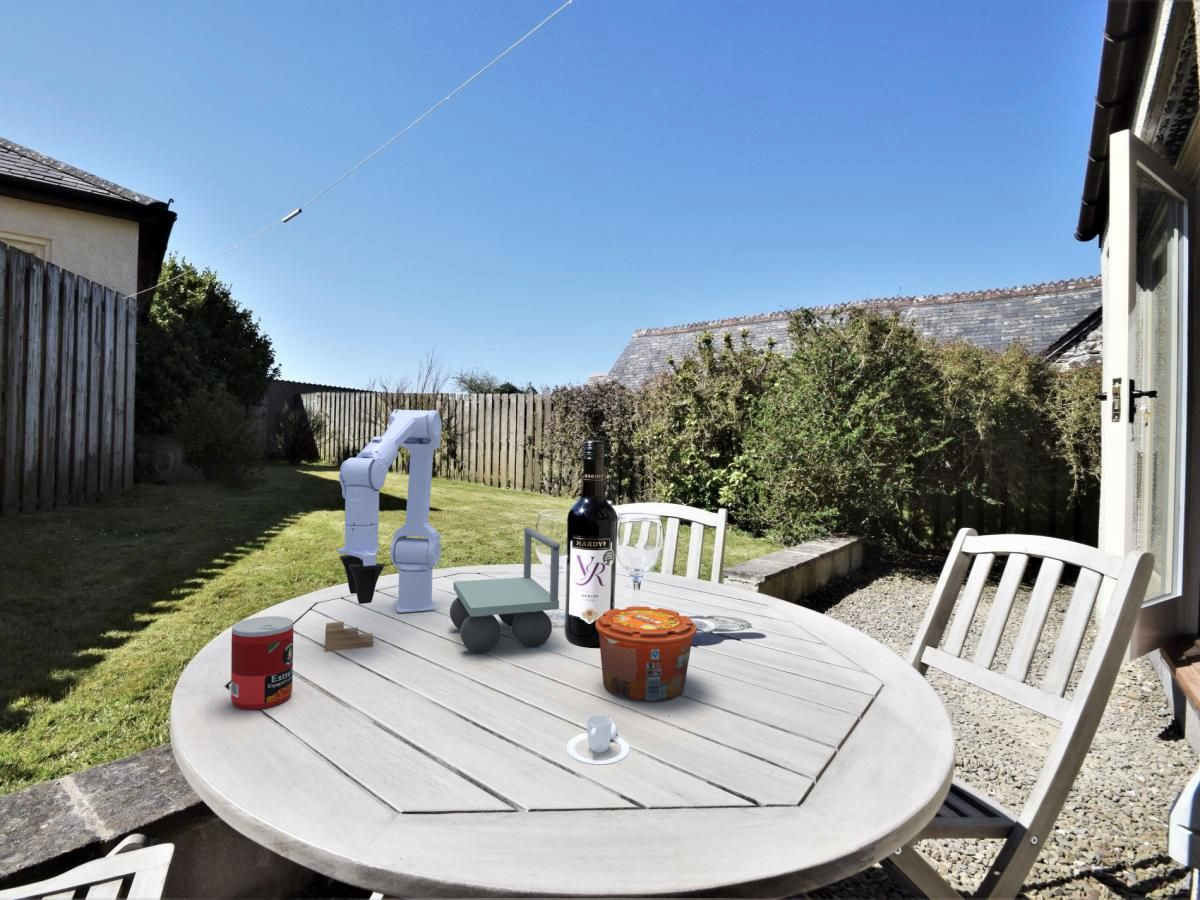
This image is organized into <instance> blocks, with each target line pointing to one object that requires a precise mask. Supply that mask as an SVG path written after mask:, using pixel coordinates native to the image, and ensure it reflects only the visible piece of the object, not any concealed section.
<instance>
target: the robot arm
mask: <svg viewBox="0 0 1200 900" xmlns="http://www.w3.org/2000/svg"><path fill="white" fill-rule="evenodd" d="M442 426H443V423H442V420H441V416H440V413H438V411H437V410H436V409H431V410H422V409H421V410H419V409H417V410H416V409H415V410H414V409H398V408H396V409H394V410H393V411H392V412H391V413H390V415H389V420H388V428H387V429H386V431H385V432H384V434H383V435H382V436H374V437H373V438H371V440H370V441H369V443H368V444H367V445H365V447H364V448H362V450H361V451H360V452H359V453H358V454H357V455H356V457H349V458H347V460H344V461H343V462H342V464H341V466H340V470H339V473H338V479H339V483H340V484H339V485H341V495H342V498H343V499H345V500H344V501H345V503H344V504H345V506H344V511H345V512H344V517H345V518H344V547H340V548H337V551H336V552H337V554H339V555H340V556H339V559H340V561H341V563H342V564H343V568H344V571H345V575H346V579H347V585H348V589H349V592H350V595H353V594H354V595H355V594H356V598H357V602H358V604H359V605H361V604H362V605H364V604H370V603H371V604H372V602H373V598H374V594H375V590H376V586H377V583H378V580H379V577H380V575H381V573H382V572H383V570H384V567H385V565H384V563H382V562H381V563H379V562H378V563H377V555H378V553H380V546H379V529H380V528H379V524H380V523H379V522H380V521H379V520H380V519H379V517H380V515H379V514H380V511H379V510H380V489H381V488H383V487H384V485H385V483H386V478H387V475H388V473H389V470H388V469H389V468H390V467H391V465H392V464H393V463H394V461H396V459H397V457H398V455H399V449H398V448H399V447H400V446H401V447H402V448H404V449H407V450H408V452H409V454H410V455H409V471H408V481H407V482H408V485H407V499H406V513H405V524H403V525H401V526H400V527H399V528H398V529H396V530H395V531H394V532H393V533H394V534H393V539H392V542H391V546H390V553H389V555H390V560H391V561H392V563H393V565H395V569H396V570H398V593H397V594H398V598H397V599H395V600H394V604H395V608H396V612H397V613H398V614H400V613H402V614H404V613H413V612H424V611H425V612H427V611H435V610H436V607H435V604H434V601H433V569H434V568H435V567H437V565H439V563H440V561H441V556H442V545H441V534H440V532H439V530H437V529H436V528H434V527H433V526H432V524H430V523H429V521H430V508H431V507H430V504H431V491H432V490H431V489H432V476H433V475H432V474H433V460H434V459H433V458H434V453H435V452H434V451H435V450H437V449H440V447H441V440H442V430H443V429H442ZM417 537H418V538H417ZM419 537H420V538H419ZM421 537H423V538H421Z"/></svg>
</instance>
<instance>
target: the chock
mask: <svg viewBox="0 0 1200 900" xmlns="http://www.w3.org/2000/svg"><path fill="white" fill-rule="evenodd" d="M344 625H345V622H344V621H336V622H326V623H325V633H324V634H325V635H324V637H325V639H324V642H325V643H324V652H332V651H343V650H352V649H361V648H372V647H374V637H373V633H372V632H367V633H366V632H364V633H359V627H348V628H344Z"/></svg>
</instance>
